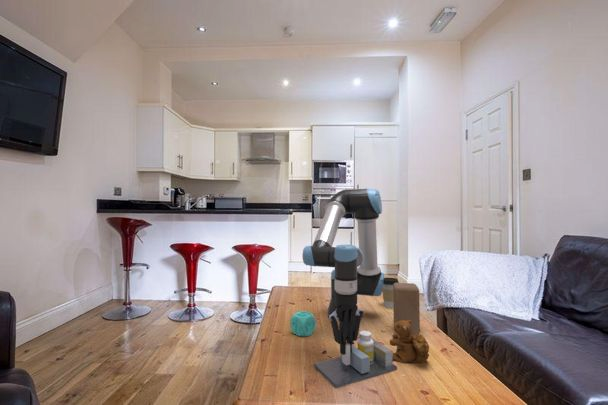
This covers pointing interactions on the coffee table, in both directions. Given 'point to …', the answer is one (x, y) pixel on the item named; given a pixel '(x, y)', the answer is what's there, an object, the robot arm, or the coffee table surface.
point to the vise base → (347, 374)
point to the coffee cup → (388, 291)
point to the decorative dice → (303, 323)
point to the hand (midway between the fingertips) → (346, 363)
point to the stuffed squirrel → (408, 344)
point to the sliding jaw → (359, 360)
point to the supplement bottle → (366, 345)
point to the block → (407, 305)
